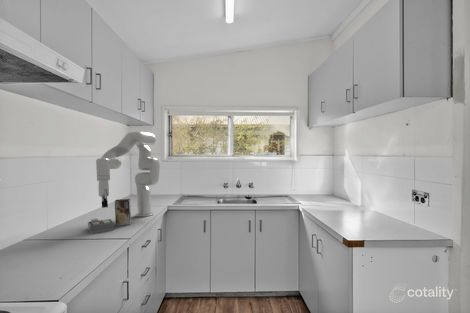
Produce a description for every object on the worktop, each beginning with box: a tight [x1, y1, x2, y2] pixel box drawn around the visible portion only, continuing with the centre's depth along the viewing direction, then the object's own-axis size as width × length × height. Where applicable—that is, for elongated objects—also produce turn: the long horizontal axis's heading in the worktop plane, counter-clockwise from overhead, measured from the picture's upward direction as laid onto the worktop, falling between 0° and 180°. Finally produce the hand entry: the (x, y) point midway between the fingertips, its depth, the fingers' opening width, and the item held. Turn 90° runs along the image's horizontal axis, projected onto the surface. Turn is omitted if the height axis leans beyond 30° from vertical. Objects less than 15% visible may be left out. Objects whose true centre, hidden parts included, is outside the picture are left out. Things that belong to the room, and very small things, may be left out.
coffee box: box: [114, 198, 132, 227], centre depth 203 cm, size 9×6×16 cm
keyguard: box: [87, 218, 115, 234], centre depth 190 cm, size 13×13×4 cm
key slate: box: [90, 217, 99, 223], centre depth 191 cm, size 4×4×4 cm
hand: (104, 207), depth 194 cm, fingers closed
